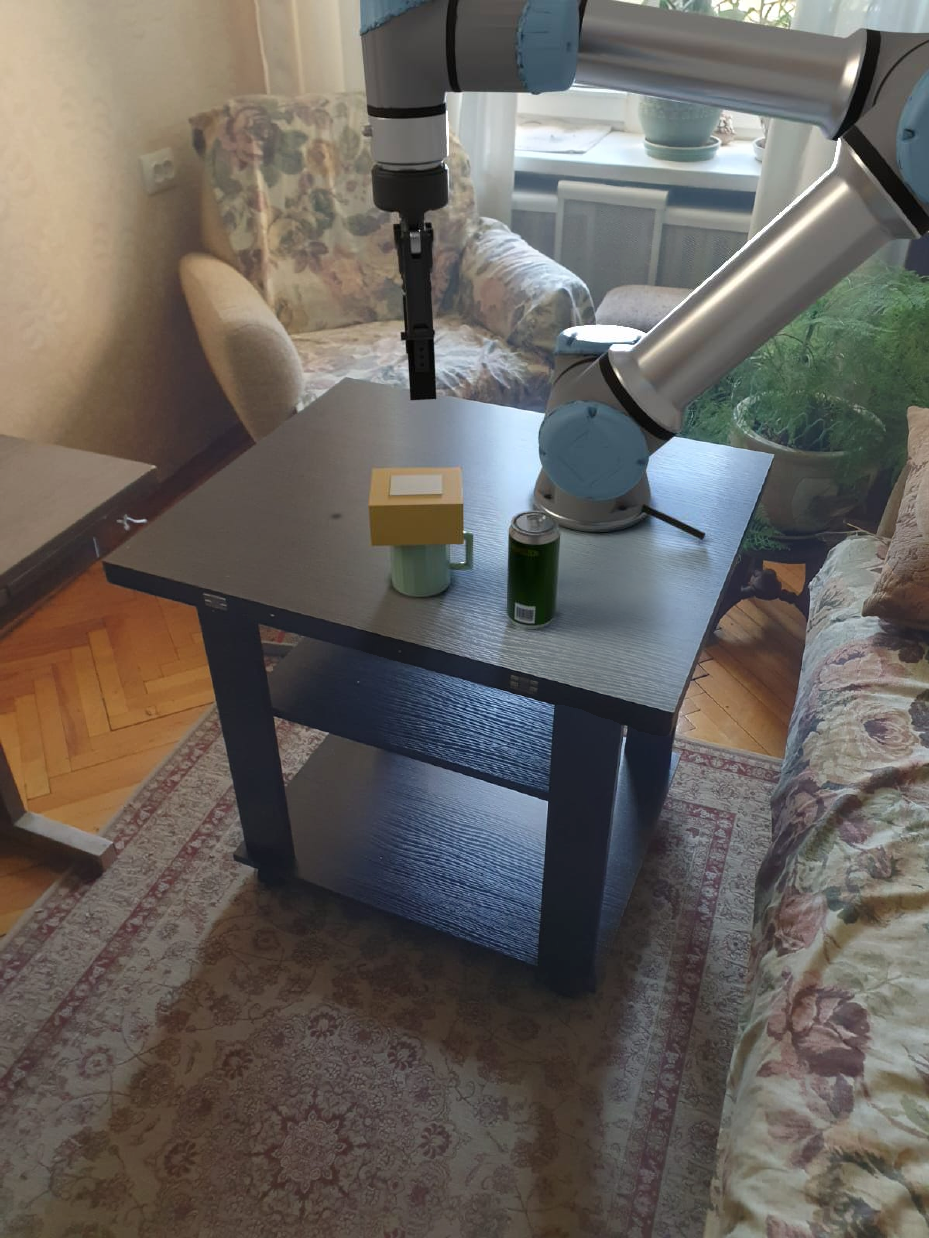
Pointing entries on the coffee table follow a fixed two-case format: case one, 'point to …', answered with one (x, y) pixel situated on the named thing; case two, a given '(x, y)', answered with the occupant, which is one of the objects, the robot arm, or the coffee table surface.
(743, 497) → the coffee table surface
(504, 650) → the coffee table surface
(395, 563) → the cup
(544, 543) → the beer can
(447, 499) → the tea packet
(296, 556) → the coffee table surface
